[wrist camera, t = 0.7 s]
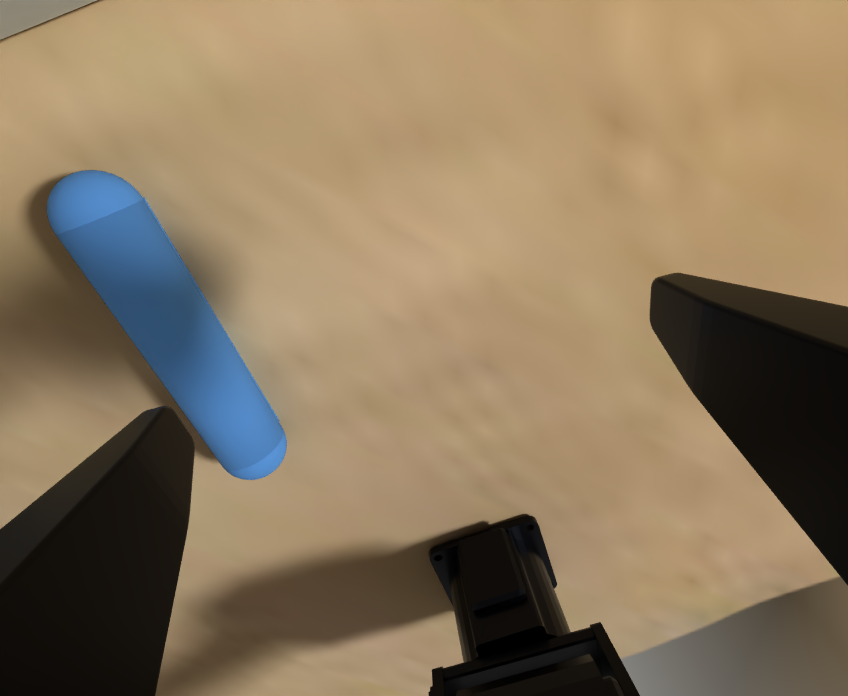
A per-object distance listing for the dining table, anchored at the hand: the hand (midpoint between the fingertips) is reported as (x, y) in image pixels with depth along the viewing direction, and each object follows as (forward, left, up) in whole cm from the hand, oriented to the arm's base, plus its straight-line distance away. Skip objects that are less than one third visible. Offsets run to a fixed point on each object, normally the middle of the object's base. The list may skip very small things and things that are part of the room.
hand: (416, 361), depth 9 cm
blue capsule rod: (-2, +9, -12) cm, 15 cm away
